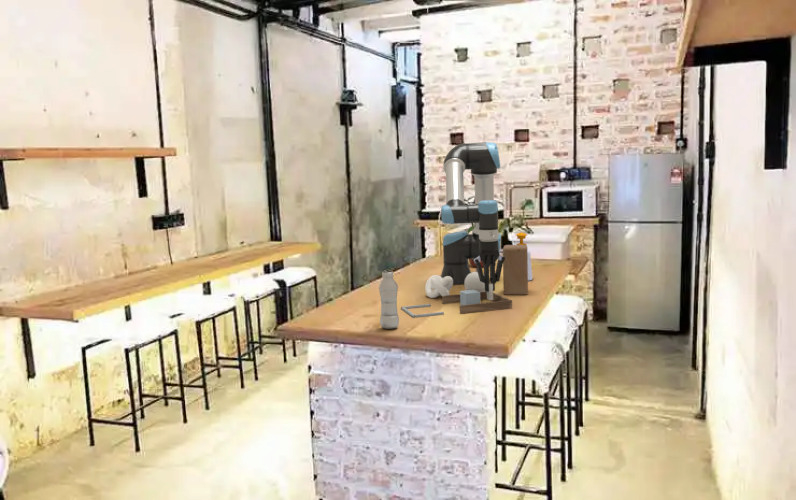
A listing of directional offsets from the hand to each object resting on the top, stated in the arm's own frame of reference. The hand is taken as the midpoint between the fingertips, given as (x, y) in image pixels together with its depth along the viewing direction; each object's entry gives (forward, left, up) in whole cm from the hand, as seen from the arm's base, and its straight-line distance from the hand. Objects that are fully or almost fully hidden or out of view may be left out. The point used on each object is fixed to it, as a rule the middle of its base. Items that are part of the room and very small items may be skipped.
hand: (490, 299), depth 258 cm
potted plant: (-86, +30, -2) cm, 91 cm away
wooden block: (-15, +19, -2) cm, 24 cm away
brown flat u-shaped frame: (0, -6, -2) cm, 6 cm away
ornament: (-17, +2, -2) cm, 17 cm away
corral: (0, -28, -2) cm, 28 cm away
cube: (0, -8, -2) cm, 9 cm away
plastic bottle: (+19, -46, -2) cm, 50 cm away
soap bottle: (-43, +36, -2) cm, 56 cm away
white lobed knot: (-21, -13, -2) cm, 25 cm away
